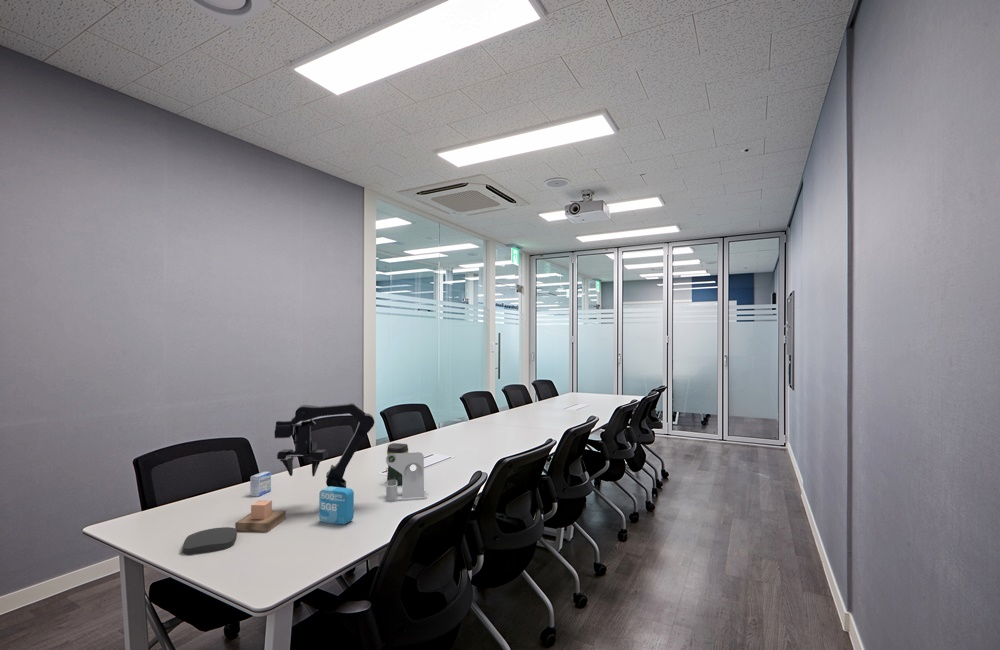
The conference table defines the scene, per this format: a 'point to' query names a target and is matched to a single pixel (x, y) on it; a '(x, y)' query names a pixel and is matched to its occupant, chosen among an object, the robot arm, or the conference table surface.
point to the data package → (336, 505)
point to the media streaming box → (210, 540)
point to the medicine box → (260, 484)
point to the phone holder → (407, 477)
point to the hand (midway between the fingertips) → (302, 476)
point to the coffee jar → (394, 449)
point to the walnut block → (260, 522)
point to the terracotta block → (261, 509)
